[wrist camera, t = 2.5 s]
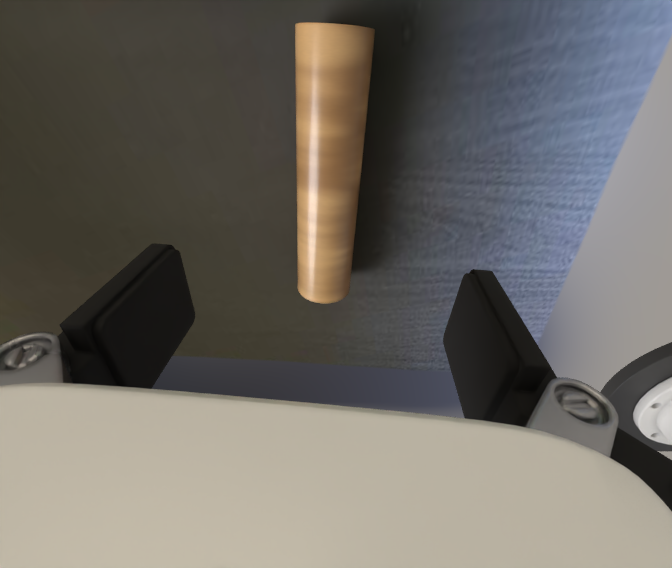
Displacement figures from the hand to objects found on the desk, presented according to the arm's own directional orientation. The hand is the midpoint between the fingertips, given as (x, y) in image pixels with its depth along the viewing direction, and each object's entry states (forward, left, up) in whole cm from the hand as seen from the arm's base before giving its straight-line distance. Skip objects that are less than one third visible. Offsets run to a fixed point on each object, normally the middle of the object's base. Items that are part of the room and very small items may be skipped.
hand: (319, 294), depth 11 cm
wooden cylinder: (0, 0, -14) cm, 14 cm away
